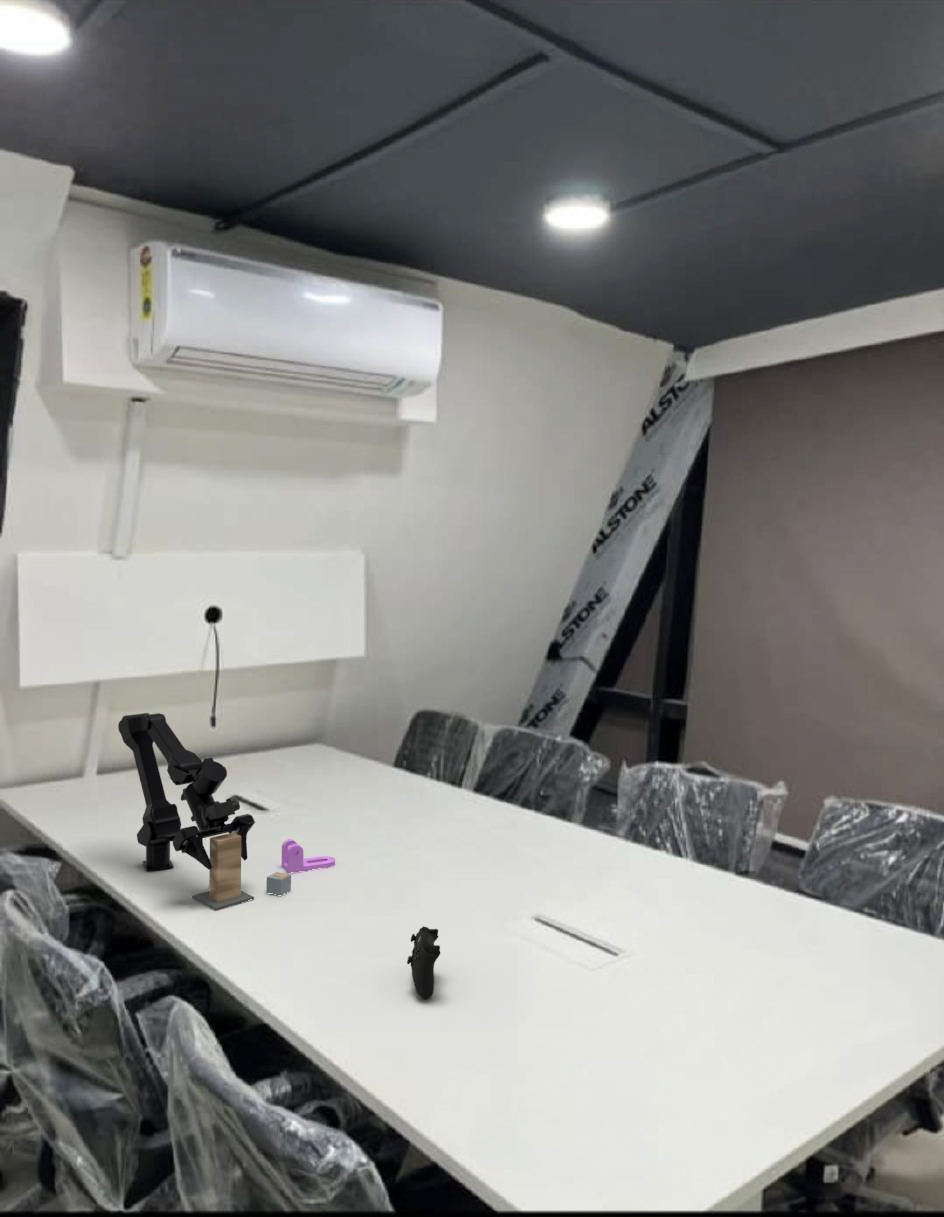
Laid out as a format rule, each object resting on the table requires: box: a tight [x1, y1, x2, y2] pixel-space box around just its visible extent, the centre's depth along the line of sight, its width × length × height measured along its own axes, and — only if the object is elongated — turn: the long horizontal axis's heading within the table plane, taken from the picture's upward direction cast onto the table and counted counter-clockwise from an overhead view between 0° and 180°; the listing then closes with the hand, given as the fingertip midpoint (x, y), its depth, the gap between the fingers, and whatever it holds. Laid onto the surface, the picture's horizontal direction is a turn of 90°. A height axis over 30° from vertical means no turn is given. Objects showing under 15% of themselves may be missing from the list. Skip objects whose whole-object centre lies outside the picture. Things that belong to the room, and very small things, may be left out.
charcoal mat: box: [191, 890, 255, 911], centre depth 227 cm, size 10×10×1 cm
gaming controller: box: [406, 926, 441, 1000], centre depth 187 cm, size 14×6×10 cm, turn 5°
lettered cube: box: [266, 871, 292, 896], centre depth 232 cm, size 4×4×4 cm
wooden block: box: [208, 832, 242, 902], centre depth 226 cm, size 4×6×14 cm, turn 136°
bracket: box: [281, 838, 336, 874], centre depth 250 cm, size 13×6×7 cm, turn 119°
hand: (228, 863), depth 225 cm, fingers open, 9 cm apart
